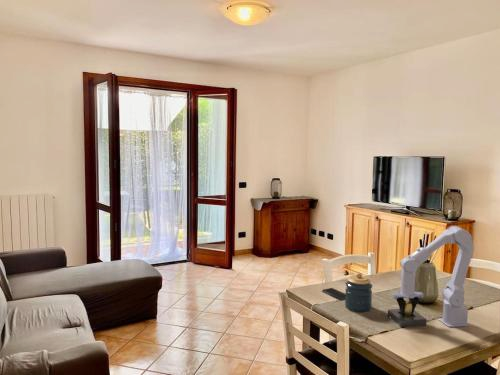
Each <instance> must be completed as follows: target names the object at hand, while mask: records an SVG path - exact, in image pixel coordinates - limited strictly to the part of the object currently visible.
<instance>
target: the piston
mask: <svg viewBox="0 0 500 375" xmlns="http://www.w3.org/2000/svg"><path fill="white" fill-rule="evenodd" d="M405 301H406V303H405V308H404V314H402V316H403V317H412V302H411V301H409V300H405Z"/></svg>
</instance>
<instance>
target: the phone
mask: <svg viewBox="0 0 500 375" xmlns="http://www.w3.org/2000/svg"><path fill="white" fill-rule="evenodd" d="M321 291H322V293H324V294H325V295H328V296H330V297H331V298H333V299H336V300H338V301H345V295H346V292H342V291H340V290H338V289H336V288H334V287H328V288H324V289H322V290H321Z"/></svg>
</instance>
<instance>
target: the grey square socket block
mask: <svg viewBox="0 0 500 375" xmlns="http://www.w3.org/2000/svg"><path fill="white" fill-rule="evenodd" d="M387 317H389V318H390V317H391V318H392V319H393V320H394V321H393V320H392V319H391V318H390V319H391V320H392V321H393V322H394V323H395V324H397V323H398V324H399V325H398V324H397V325H398V326H399V327H400V328H406V327H407V328H408V327H409V328H410V327H423V326H427V318H426V317H424V316H423V315H421V314H420V313H419V312H418V311H416V310H415V309H414V312H413V314H412V317H403V316H402V313H400V308H394V309H393V308H391V309H387Z"/></svg>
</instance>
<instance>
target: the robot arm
mask: <svg viewBox="0 0 500 375" xmlns="http://www.w3.org/2000/svg"><path fill="white" fill-rule="evenodd" d="M472 238H473V236H472V235H471V233H470V232H469V231H468V230H466V229H463V228H461V227H459V226H458V225H451V226H449V227H448V228H447V229H444V230H443V232H442V233H441V234H440V235H439V236H437V237H436V238H435V239H433V240H432V241H431V242H430V243H429V244H427V245H426V246H425V247H417V248H416V249H415V251H414V252H413V253H412V254H408V255H407V257H403V258H402V259H401V261H400V263H399V264H400V266H401V276H400V277H401V278H400V280H401V281H400V282H401V283H400V284H401V285H400V291H399V292H395V293H394V292H393V293H391V298H392V299H393V300H396V302H397V305H398V309H400V313H402V314H404V308H405V303H406V301H407V300H406V299H408V301H411V302H412V314H413V312H414V310H415V309H416V307H417V305H418V303H420V298H421V299H422V298H424V293H423V292H421V291H415V289H416V288H415V286H416V272H417V270H418V267H419V266H421V265H422V264H423V263H425V262H426V261H427V260H429V259H430V258H431V255H432V254H433V253H434V252H435V251H436V250H439V249H440V248H441V247H442V246H444V245H446V244H456V245H457V247H458V248H459V249H458V253H457V256H456V260H455V264H454V267H453V270H452V274H451V276H450V281H448V282H446V285H445V287H443V289H442V290H441V295H442V297H443V299H444V300H443V307H442V318H441V317H440V318H438V319H437V320H439V322H440V323H441V322H442V323H443V324H444V325H446V326H447V327H449V328H455V327H456V328H457V327H458V328H460V327H469V324H468V313H469V311H468V307H467V306H466V305H465V290H464V285H465V280H466V277H467V273H468V270H469V268H470V264H471V262H472V256H473V253H474V251H475V245H474V242H473V239H472Z"/></svg>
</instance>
